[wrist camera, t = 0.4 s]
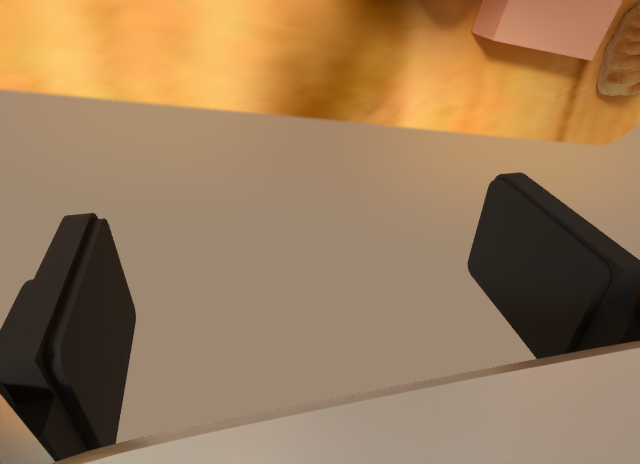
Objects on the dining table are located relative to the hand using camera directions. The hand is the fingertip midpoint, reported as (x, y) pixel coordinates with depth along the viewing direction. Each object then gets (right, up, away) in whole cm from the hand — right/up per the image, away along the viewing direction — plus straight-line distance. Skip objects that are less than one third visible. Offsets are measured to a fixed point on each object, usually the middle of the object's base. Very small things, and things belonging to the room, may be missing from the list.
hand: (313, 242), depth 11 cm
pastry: (+34, +21, +38) cm, 56 cm away
